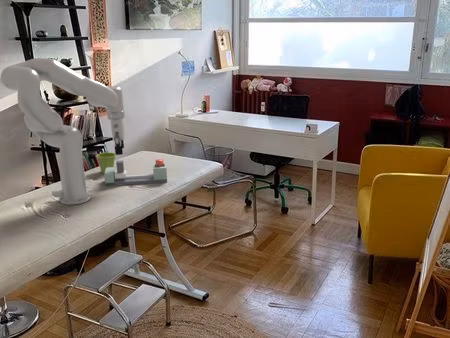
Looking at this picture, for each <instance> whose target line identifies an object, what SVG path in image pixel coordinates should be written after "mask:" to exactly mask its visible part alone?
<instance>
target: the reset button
mask: <svg viewBox="0 0 450 338" xmlns="http://www.w3.org/2000/svg"><path fill="white" fill-rule="evenodd" d="M154 162H155V163H156V167H163V166H164V165H163V162H164V159H160V158H159V159H155V161H154Z"/></svg>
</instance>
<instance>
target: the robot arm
mask: <svg viewBox="0 0 450 338" xmlns="http://www.w3.org/2000/svg"><path fill="white" fill-rule="evenodd" d="M0 81H1V83H2V85H3V86H4V87H5V88H7V89H9V90H14V91H17V105H18V107H19V109H20V110H21V112H22V113H23V114H24V116H23V120H24V124H25V126H26V128H27V129H28V130H29V131H30V132H31V133H32V134H34V135H35V136H36V137H38V138H39V139H40V140H41V141H42V142H43V143H44V144H46V145H48V146H50V147H54V148H59V153H58V159H57V160H58V162H57V163H58V169H59V171H58V172H59V176H60V177H59V178H60V184H61V189H60V190H54V191H52V190H51V196H53V197H54V198H59V203H60V204H63V205H67V206H70V205H71V206H72V205H75V206H76V205H80V204H83V203H86V202H88V201H89V200H91V198H92V196H91V193H90V192H87V186H86V177H85V170H84V161H83V141H84V139H83V134H82V132H81V131H80V129H78V128H77V127H74V126H71V125H67V124H64V122H63V118H62V117H61V115H60V114H59V113H58V112H57V111H56V110H54V108H53V107H51V106H50V104H49V103H48V102H46V101H45V100H44V99H43V97H42V96H41V92H40V91H41V81H44V82H48V83H50V84H52V85H54V86H57V87H58V88H60V89H62V90H64V91H66V92H67V93H69V94H72V95H75V96H78V97H84V98H86V101H87V103H88V104H89V105H90V106H92V107H98V108H105V109H106V115H107V116H106V117H107V120H109V121H110V129H111V135H112V140H113V142H114V153H115V154H116V156H121V155H123V154H124V152H123V149H125V143H124V141H125V138H126V134H125V133H126V132H125V125H124V123H125V122H124V119H125V116H126V115H125V108H124V107H125V104H124V97H123V90H122V87H120V86H114V85H113V86H107V85H105V84H103V83H101V82H99V81H96V80H94V79H92V78H89V77H87V76H85V75H83V74H80V73H78V72H77V71H75V70H73V69H71V68H70V67H68V66H66V65H65V64H63V63H61V62H60V61H58V60H56V59H54V58H49V57H48V58H44V57H36V58H32V59H28V60H25V61H22V62H19V63H15V64H11V65H9V66H7V67H5V68H3V70H2V71H1V73H0Z"/></svg>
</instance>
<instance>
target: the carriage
mask: <svg viewBox="0 0 450 338" xmlns="http://www.w3.org/2000/svg"><path fill="white" fill-rule="evenodd" d="M115 163H116V164H115V166H116V169H115V178H126V176H127V175H128V173H127V172H128V171H127V170H128V169H125V165H124V160H117V161H116V162H115Z"/></svg>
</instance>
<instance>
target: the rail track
mask: <svg viewBox="0 0 450 338" xmlns="http://www.w3.org/2000/svg"><path fill="white" fill-rule="evenodd" d="M152 165H153V166H152V169H153V170H152V171H153V173H149V174H148V173H146V174H145V173H144V174H130V175H129V174H127V176H126V178H115V171H116V167H115V166H114V167H108V168H106V170H105V173H103V174H104V182H105V183H104V184H105V187H110V186H114V187H115V186H126V185H129V186H130V185H143V184H146V185H147V184H158V183H168V175H167V173H168V172H167V162H166V161H163V165H164V166H163V167H156V162H153V163H152Z"/></svg>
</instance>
